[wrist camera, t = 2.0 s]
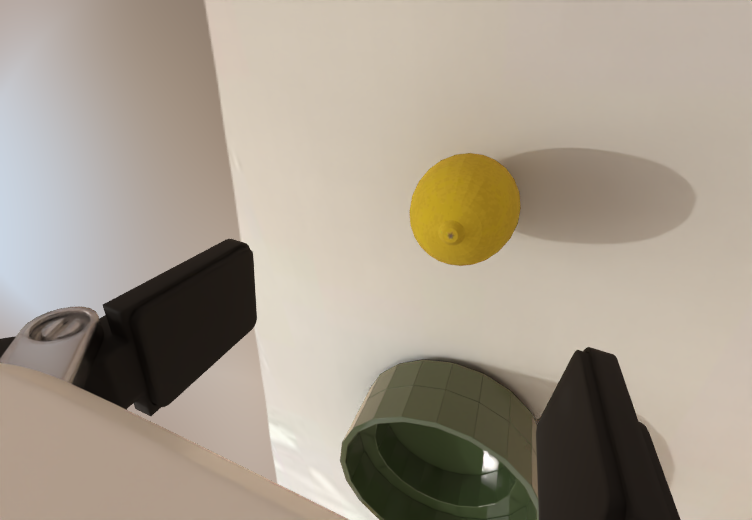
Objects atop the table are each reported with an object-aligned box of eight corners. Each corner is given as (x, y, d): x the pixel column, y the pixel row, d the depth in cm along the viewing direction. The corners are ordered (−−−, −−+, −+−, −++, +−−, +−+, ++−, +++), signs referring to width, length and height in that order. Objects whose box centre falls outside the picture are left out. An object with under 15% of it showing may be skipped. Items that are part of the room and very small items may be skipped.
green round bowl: (571, 398, 26) (582, 481, 21) (509, 505, 33) (506, 588, 28) (380, 331, 30) (347, 386, 24) (363, 440, 37) (335, 502, 32)
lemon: (502, 241, 23) (491, 308, 16) (421, 215, 24) (379, 267, 17) (537, 156, 20) (541, 195, 13) (443, 132, 21) (404, 156, 15)
